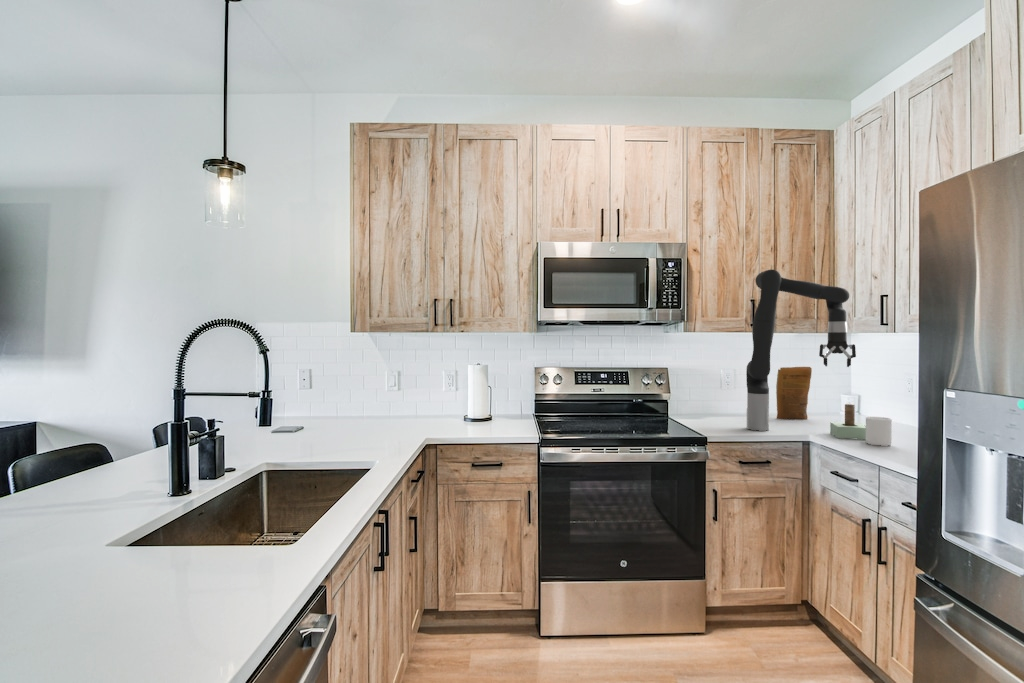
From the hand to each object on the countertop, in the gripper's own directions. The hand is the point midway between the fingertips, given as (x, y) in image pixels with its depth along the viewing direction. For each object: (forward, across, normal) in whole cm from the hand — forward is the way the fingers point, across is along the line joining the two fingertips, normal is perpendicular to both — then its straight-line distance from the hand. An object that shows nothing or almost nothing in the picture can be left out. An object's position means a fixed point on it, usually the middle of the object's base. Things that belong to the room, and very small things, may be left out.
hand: (837, 366), depth 239 cm
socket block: (+30, +4, -12) cm, 32 cm away
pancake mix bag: (+30, -18, +31) cm, 47 cm away
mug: (+30, +12, -24) cm, 40 cm away
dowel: (+30, +4, -11) cm, 32 cm away
